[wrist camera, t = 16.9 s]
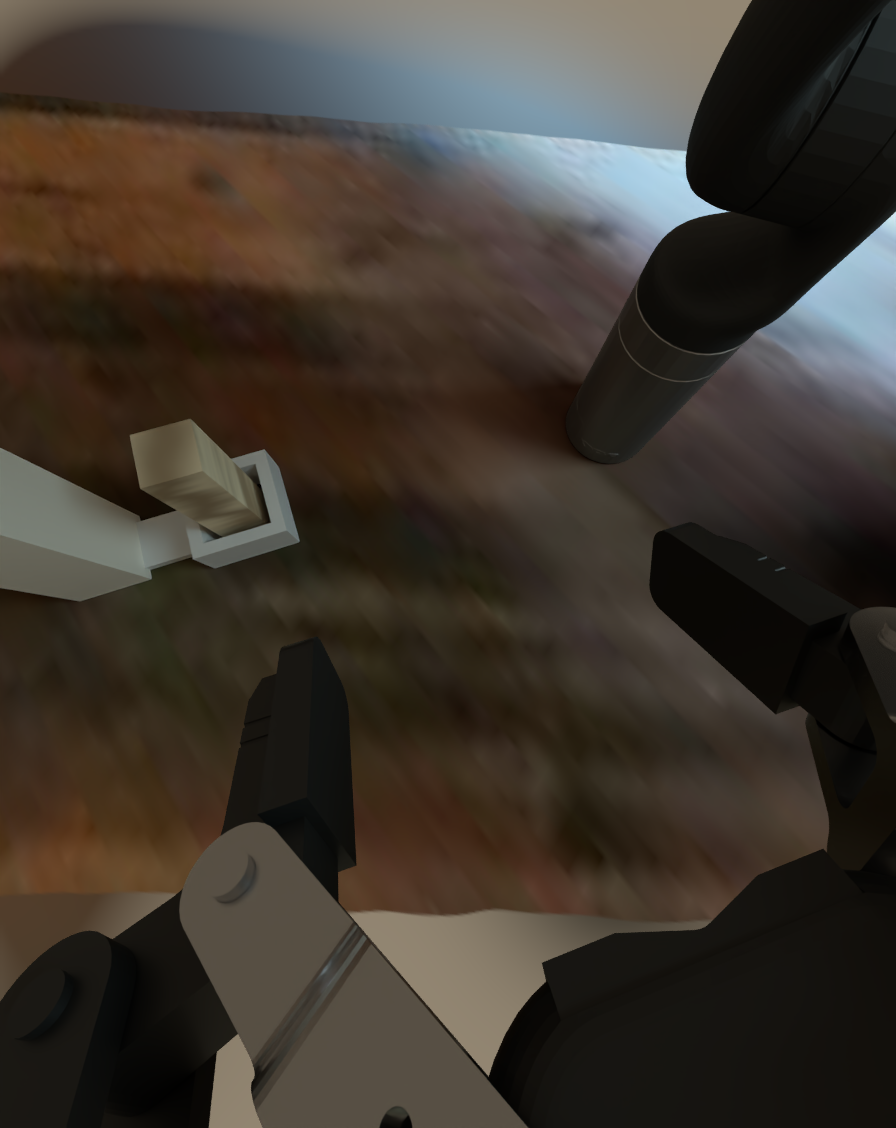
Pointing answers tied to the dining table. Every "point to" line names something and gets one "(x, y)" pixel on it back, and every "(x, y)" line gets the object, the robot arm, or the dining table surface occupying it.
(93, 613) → the dining table surface
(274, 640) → the dining table surface
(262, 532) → the post
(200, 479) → the block
